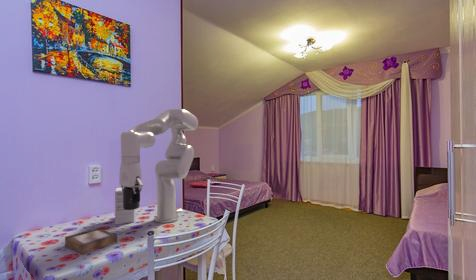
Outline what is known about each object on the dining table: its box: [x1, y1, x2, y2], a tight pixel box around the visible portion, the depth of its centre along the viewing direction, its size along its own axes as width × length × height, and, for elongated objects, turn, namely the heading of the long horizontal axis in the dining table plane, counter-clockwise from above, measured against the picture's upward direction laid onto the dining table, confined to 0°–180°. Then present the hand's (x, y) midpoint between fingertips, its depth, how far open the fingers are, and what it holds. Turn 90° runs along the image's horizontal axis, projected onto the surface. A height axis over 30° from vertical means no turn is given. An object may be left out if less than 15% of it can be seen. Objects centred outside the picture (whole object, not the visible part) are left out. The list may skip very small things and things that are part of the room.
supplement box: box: [114, 187, 136, 225], centre depth 136 cm, size 10×9×17 cm
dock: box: [64, 227, 118, 256], centre depth 106 cm, size 14×14×4 cm
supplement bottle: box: [123, 185, 141, 210], centre depth 113 cm, size 7×7×12 cm
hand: (131, 200), depth 113 cm, fingers closed on supplement bottle, 6 cm apart
